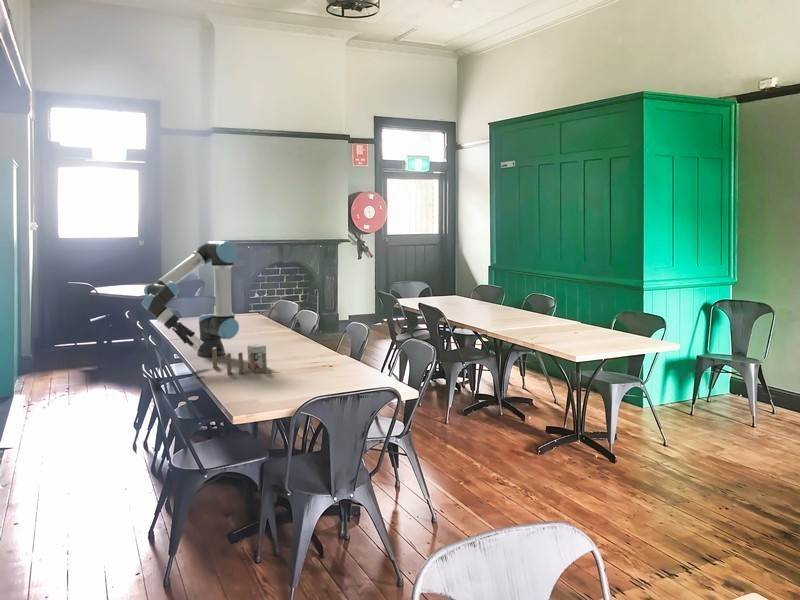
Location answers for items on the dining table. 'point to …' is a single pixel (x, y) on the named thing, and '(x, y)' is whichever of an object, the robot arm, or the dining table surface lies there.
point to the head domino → (214, 357)
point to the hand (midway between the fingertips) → (200, 346)
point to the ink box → (256, 355)
